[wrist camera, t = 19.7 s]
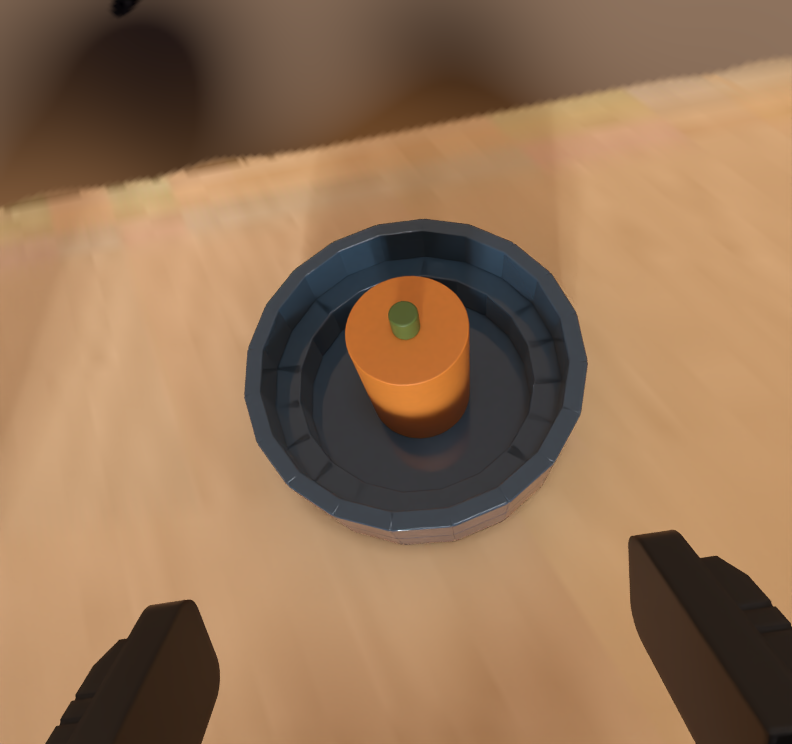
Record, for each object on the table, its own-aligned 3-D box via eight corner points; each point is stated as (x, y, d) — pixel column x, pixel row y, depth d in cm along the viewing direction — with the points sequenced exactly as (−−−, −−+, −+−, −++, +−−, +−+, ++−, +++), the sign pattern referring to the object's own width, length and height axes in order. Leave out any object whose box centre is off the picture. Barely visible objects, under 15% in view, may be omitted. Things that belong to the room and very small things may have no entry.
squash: (360, 427, 28) (321, 359, 21) (386, 341, 30) (359, 250, 23) (458, 448, 27) (453, 384, 20) (478, 357, 29) (481, 268, 21)
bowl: (237, 502, 28) (193, 480, 23) (328, 258, 34) (306, 203, 29) (542, 583, 24) (558, 575, 20) (584, 296, 30) (605, 240, 26)
